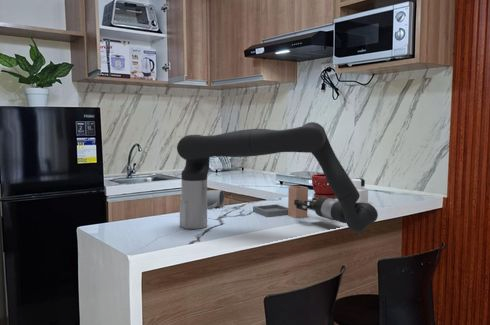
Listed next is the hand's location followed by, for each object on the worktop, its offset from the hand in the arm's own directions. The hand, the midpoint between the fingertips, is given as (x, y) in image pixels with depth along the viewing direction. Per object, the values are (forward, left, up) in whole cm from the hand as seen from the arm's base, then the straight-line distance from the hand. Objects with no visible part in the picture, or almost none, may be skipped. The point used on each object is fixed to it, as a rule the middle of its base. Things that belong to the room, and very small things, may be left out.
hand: (304, 201), depth 170 cm
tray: (-6, +14, -7) cm, 17 cm away
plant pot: (+38, +35, -7) cm, 52 cm away
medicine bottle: (+42, +15, -7) cm, 45 cm away
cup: (0, +4, -7) cm, 8 cm away
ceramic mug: (-23, +37, -7) cm, 44 cm away
